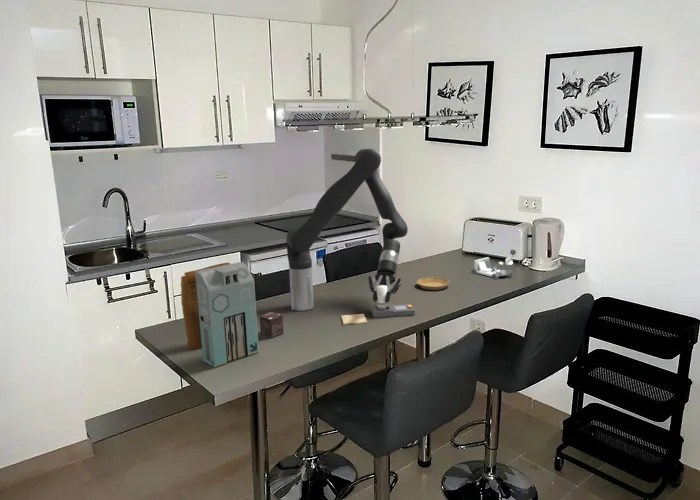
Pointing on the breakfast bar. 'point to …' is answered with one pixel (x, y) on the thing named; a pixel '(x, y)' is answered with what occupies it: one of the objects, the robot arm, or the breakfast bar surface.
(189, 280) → the pancake mix bag
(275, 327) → the box
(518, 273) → the breakfast bar surface
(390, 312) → the grey charging base
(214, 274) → the device
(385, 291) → the plug
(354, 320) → the cork coaster
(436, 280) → the plant saucer
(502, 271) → the white wheeled toy
